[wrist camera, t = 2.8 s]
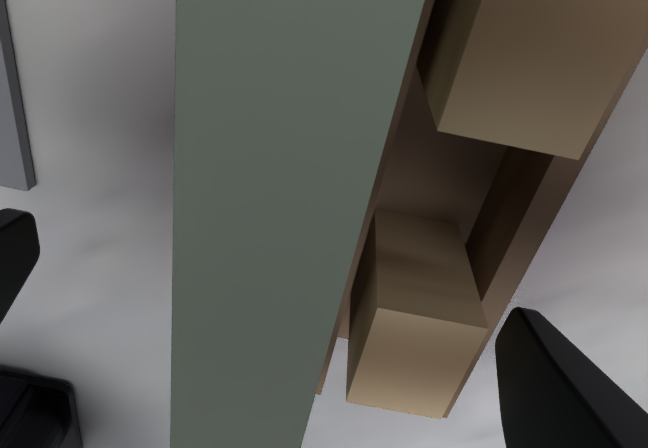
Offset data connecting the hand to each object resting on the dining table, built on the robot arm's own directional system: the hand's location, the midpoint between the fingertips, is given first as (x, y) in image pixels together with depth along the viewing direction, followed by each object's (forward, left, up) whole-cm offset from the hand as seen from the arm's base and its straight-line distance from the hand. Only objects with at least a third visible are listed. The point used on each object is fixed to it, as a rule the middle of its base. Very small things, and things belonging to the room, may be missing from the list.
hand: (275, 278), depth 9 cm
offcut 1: (-4, -4, -8) cm, 10 cm away
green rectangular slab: (0, 0, -8) cm, 8 cm away
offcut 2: (+5, -4, -8) cm, 10 cm away
